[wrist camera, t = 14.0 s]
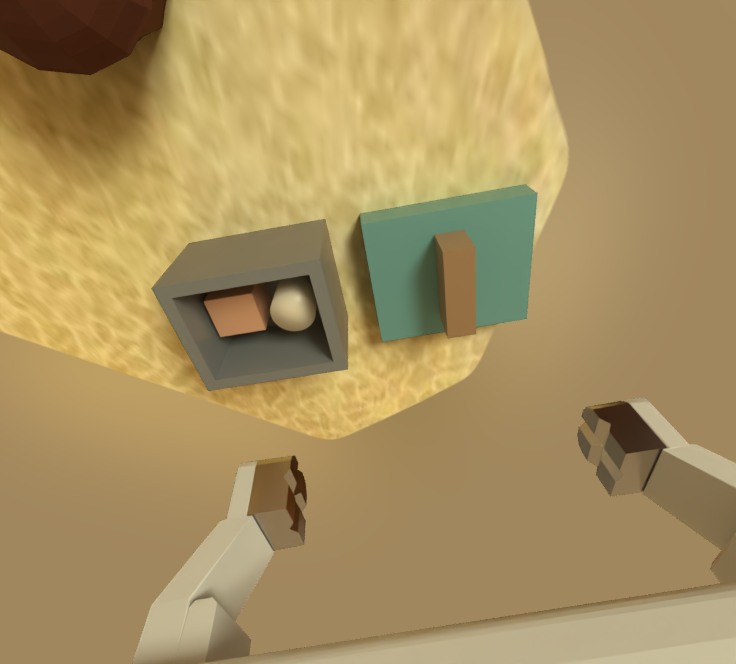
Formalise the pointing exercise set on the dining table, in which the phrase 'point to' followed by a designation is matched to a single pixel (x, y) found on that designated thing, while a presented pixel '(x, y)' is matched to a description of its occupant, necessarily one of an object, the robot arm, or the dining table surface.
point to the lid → (451, 262)
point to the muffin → (76, 31)
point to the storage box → (258, 305)
